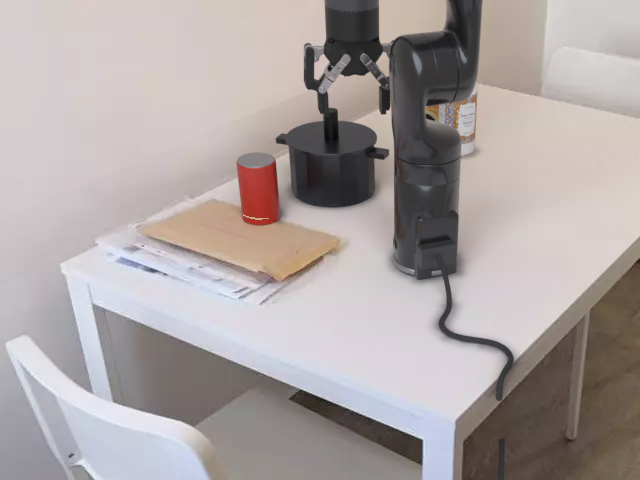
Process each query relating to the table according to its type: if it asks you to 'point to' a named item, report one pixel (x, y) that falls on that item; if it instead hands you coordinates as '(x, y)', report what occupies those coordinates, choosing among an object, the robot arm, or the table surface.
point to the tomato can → (258, 188)
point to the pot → (333, 176)
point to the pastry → (432, 113)
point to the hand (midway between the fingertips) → (354, 114)
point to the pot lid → (331, 137)
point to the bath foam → (462, 120)
